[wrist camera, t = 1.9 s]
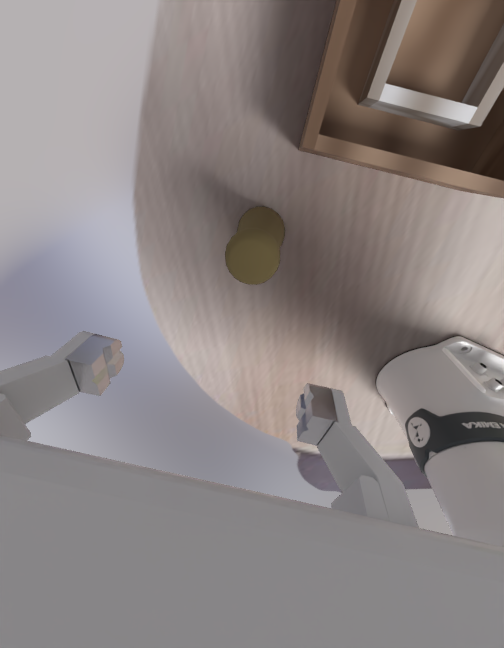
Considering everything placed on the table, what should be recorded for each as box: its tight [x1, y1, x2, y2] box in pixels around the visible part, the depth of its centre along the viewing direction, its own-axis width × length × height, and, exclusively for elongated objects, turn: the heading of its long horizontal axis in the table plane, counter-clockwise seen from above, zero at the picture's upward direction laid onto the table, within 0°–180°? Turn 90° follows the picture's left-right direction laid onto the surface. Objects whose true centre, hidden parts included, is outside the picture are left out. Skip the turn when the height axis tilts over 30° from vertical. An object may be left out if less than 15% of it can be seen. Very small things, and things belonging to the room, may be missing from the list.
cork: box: [225, 207, 285, 285], centre depth 25 cm, size 6×6×11 cm
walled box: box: [299, 0, 504, 198], centre depth 17 cm, size 18×18×7 cm
